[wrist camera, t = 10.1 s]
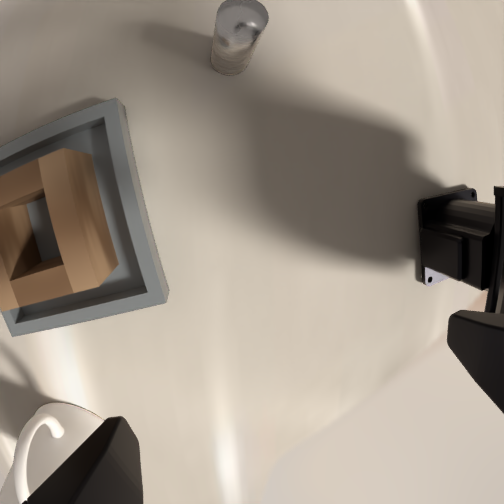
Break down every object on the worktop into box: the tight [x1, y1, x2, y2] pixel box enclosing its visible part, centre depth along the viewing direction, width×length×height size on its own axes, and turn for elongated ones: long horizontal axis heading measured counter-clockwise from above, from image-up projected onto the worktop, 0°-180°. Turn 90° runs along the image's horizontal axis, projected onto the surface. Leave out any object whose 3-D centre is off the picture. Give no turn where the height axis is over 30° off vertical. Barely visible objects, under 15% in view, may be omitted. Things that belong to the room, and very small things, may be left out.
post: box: [211, 0, 269, 75], centre depth 13 cm, size 2×2×6 cm
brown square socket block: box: [0, 148, 119, 312], centre depth 14 cm, size 6×6×4 cm
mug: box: [0, 403, 104, 504], centre depth 14 cm, size 12×8×12 cm
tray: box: [0, 98, 169, 337], centre depth 15 cm, size 11×11×2 cm
